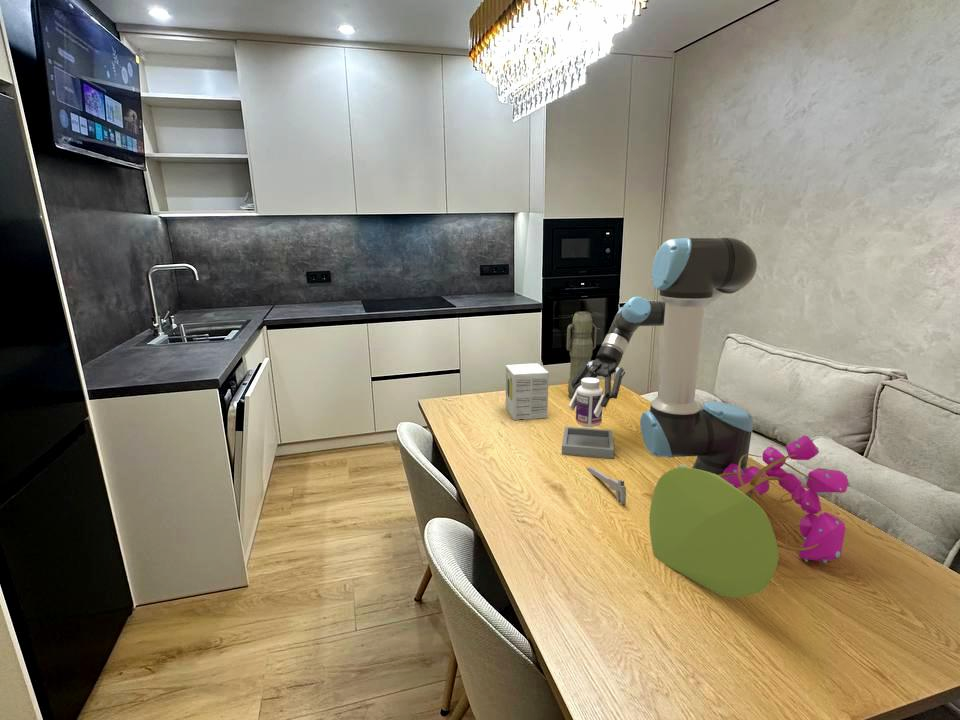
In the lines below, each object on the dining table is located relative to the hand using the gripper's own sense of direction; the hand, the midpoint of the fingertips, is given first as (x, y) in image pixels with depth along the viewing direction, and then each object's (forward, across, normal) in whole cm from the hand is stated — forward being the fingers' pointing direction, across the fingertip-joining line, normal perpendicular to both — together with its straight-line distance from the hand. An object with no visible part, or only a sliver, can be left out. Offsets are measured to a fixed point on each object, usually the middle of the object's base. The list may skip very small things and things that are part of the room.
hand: (583, 411), depth 153 cm
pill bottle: (+1, 0, -6) cm, 6 cm away
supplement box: (0, +32, -18) cm, 37 cm away
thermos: (-20, +26, -39) cm, 51 cm away
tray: (+7, 0, -11) cm, 13 cm away
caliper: (+20, -17, +2) cm, 27 cm away
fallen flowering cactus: (+24, -54, +6) cm, 59 cm away
